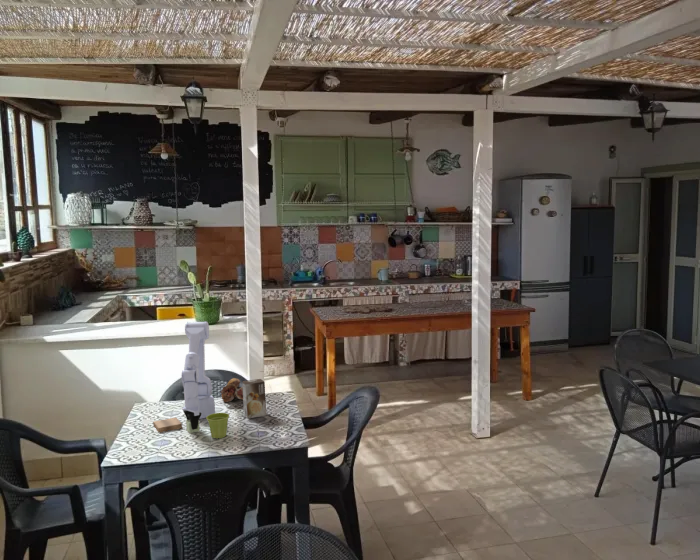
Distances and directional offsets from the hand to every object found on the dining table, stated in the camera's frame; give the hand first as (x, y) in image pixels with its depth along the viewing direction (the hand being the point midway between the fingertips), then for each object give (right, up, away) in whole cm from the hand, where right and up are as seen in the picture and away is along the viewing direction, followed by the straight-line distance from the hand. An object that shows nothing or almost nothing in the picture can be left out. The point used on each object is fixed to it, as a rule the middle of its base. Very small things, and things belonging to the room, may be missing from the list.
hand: (192, 427), depth 263 cm
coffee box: (+24, +1, +19) cm, 30 cm away
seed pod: (+9, +3, +43) cm, 44 cm away
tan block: (-12, -2, +6) cm, 14 cm away
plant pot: (+13, -2, -7) cm, 15 cm away
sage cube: (0, -1, 0) cm, 1 cm away
